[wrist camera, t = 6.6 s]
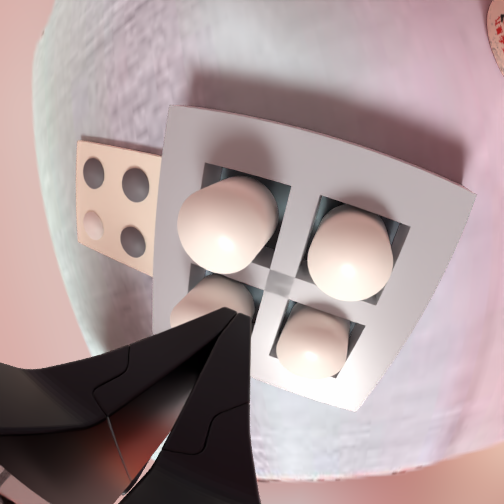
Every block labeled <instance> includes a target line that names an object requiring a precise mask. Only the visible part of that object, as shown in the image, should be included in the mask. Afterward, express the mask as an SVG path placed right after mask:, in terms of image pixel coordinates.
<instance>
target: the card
mask: <svg viewBox="0 0 504 504" xmlns="http://www.w3.org/2000/svg"><path fill="white" fill-rule="evenodd" d="M161 159H162V156H160V155H156V154H151V153H146V152H141V151H137V150H132V149H127V148H122V147H116V146H111V145H106V144H100V143H95V142H89V141H83V140H79V141H77V159H76V215H77V235H78V242H79V243H81V244H83V245H85V246H87V247H89V248H91V249H93V250H95V251H97V252H99V253H102V254H104V255H106V256H108V257H110V258H112V259H114V260H116V261H118V262H121V263H123V264H125V265H127V266H129V267H131V268H134V269H136V270H138V271H140V272H143V273H145V274H147V275H149V276H151V277H153V257H154V238H155V222H156V209H157V197H158V187H159V177H160V168H161Z"/></svg>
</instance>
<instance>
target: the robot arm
mask: <svg viewBox="0 0 504 504" xmlns="http://www.w3.org/2000/svg"><path fill="white" fill-rule="evenodd" d="M251 322H252V319H251V317H250V316H248V315H245V314H243V313H237V311H235V310H233V309H230V308H228V307H222V308H220V309H217V310H215V311H213V312H210V313H208V314H205V315H203V316H200V317H198V318H195V319H193V320H191V321H188V322H186V323H183V324H181V325H178V326H176V327H173V328H171V329H168V330H165V331H163V332H160V333H158V334H155V335H153V336H150V337H148V338H145V339H142V340H140V341H137V342H134V343H132V344H130V347H129V345H126V346H124V347H121V348H118V349H115V350H113V351H110V352H107V353H104V354H101V355H97V356H93V357H90V358H86V359H82V360H78V361H74V362H69V363H65V364H61V365H56V366H52V367H47V368H42V369H21V368H16V367H13V366H10V365H7V364H3V363H0V504H113V503H114V502H115V501H116V500H117V499H118V498H119V496H120V495H125V494H126V493H127V492H128V491H129V490H130V489H131V488H132V487H133V486H134V484H135V483H136V481H137V480H138V478H139V477H140V475H141V473H142V471H143V470H144V468H145V466H146V465H147V463H148V461H149V460H150V458H151V456H152V455H153V454H154V452H155V451H156V450H157V448H158V447H159V446H160V444H161V443H162V442H163V441H164V439H165V438H166V437H167V435H168V434H169V433H170V434H169V436H168V438H167V440H166V441H165V443H164V445H163V447H162V451H160V453H159V455H158V457H157V459H156V460H155V462H154V464H153V465H152V467H151V468H150V469H149V471H148V472H147V473H146V474H145V475H144V476H143V477H142V479H141V480H140V481H139V482H138V483H137V484H136V485H135V486H134V487H133V488H132V490H131V491H130V492H129V493H128V494H127V495H126V496H125V497H124V498H123V499H122V500H121V501H120V503H118V504H261V501H260V497H259V492H258V485H257V479H256V473H255V467H254V461H253V454H252V447H251V437H250V404H249V403H250V369H251ZM170 431H171V432H170Z"/></svg>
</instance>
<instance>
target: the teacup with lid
mask: <svg viewBox="0 0 504 504" xmlns="http://www.w3.org/2000/svg"><path fill="white" fill-rule="evenodd" d="M487 30H488V37H489V41H490V45H491V48H492V51H493V54H494V57H495V60H496V62H497V64H498V66H499V68H500V71H501V73H502V74H503V76H504V0H493V1H492V3H491V5H490V7H489V10H488V16H487Z"/></svg>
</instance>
